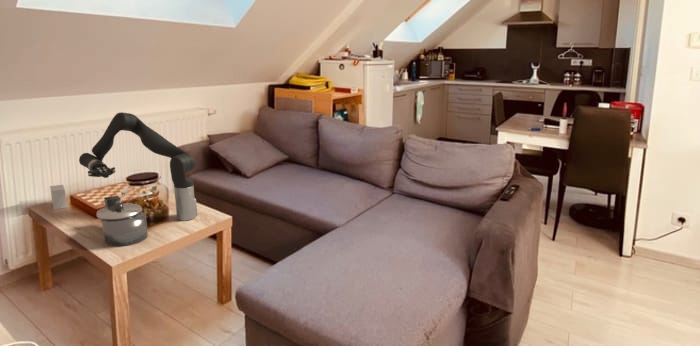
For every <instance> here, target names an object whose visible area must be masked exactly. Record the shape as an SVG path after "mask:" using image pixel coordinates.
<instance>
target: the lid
mask: <svg viewBox="0 0 700 346" xmlns="http://www.w3.org/2000/svg"><path fill="white" fill-rule="evenodd" d="M103 200H104V207H101V208H100V209H98V210H97V212H96V217H97V218H98V219H99V220H101V221H102V220H122V219H127V218H131V217H134V216H136V215H138V214H140V213H141V212H143V207H142V206H141V205H140V204H133V203H124V202H123V203H122V202H121V201H122V200H121V197H120V196H119V195H113V196H107V197H104V198H103Z"/></svg>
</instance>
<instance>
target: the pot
mask: <svg viewBox="0 0 700 346" xmlns="http://www.w3.org/2000/svg"><path fill="white" fill-rule="evenodd" d="M101 223H102V232H103V238H104V243H105V244H106V245H107V246H111V247H127V246H132V245H136V244H139V243H141V242H143V241H145V240H146V239H147V238H148V237H149V234H148V232H149V231H148V225H147V224H148V223H147V215H146V212H145V213H144V212H143V211H142V212H141V213H140V214H138V215H136V216H134V217H131V218H127V219H122V220H102V219H101Z"/></svg>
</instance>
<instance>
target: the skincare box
mask: <svg viewBox="0 0 700 346" xmlns="http://www.w3.org/2000/svg"><path fill="white" fill-rule="evenodd" d="M49 190H50V195H51V202H52V209H53V210H61V209H66V208H68V204H67V196H66V190H65V186H64V184H58V185H57V184H56V185H50V186H49Z"/></svg>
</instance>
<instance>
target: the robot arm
mask: <svg viewBox="0 0 700 346" xmlns="http://www.w3.org/2000/svg"><path fill="white" fill-rule="evenodd" d="M121 131H125V132H132V133H133V134H134V135H136V136H137V137H138V138H139V139H140V142H141V143H142V145H143V146H144V147H145V148H146V149H148V150H149V151H150V152H152V153H154V154H157V155H159V156H163V157H166V158H170V161H169V169H170V176H171V177H170V178H171V180H172V183H173V190H174V198H175V199H174V200H175V202H174V203H175V210H176V219H177V220H178V221H182V222H183V221H185V222H186V221H192V220H193V219H196V217H197V216H198V207H197V204H198V203H197V198H195V188H194V180H193V179H192V178H189V177H187V176H186V173H189V172H191V171H193V170H194V169H196V167H197V162H196V159H195V158H194V156H192V155H191V154H190V153H188V152H187V151H185V150H184V149H181V148H180V147H179V146H176V145H175V144H173V142H170V141H169V140H168V139H166V138H165V137H164V136H162V135H161V134H160V133H158V132H156V131H155V130H154V129H152V128H151V127H149V126H148V125H146V124H145V123H144V122H143V121H142V120H141V119H140V118H139V117H137V116H136V115H135V114H133V113H130V112H129V113H128V112H121V111H120V112H117V113H116V114H115V115H114V116H113V117H112V119H111V121H110V123H109V124H108V126H107V128H106V130H105V131H104V133H103V135H102V136H101V138H100V139H99V140H98V141H97V142H96V143H95V145H94V146H93V147H92V148H91V153H92V154H91V153H88V152H84V153H82V154H81V155H79V158H78V159H79V160H78V163H79V164H80V165H81V166H82V167H84V168H86V169H88V171H87V175H88V177H91V178H92V177H93V178H104V179H106V178H109V177H110V176H112V175H113V174H116V168H115V166H114V167H108V166H107V164H106V163H104V162H103V160H104V158H105V157H106V155H107V154H108V153H109V152H110V150H111V149H112V148H113V146H114V141H115V136H116V135H118V133H119V132H121Z"/></svg>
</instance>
